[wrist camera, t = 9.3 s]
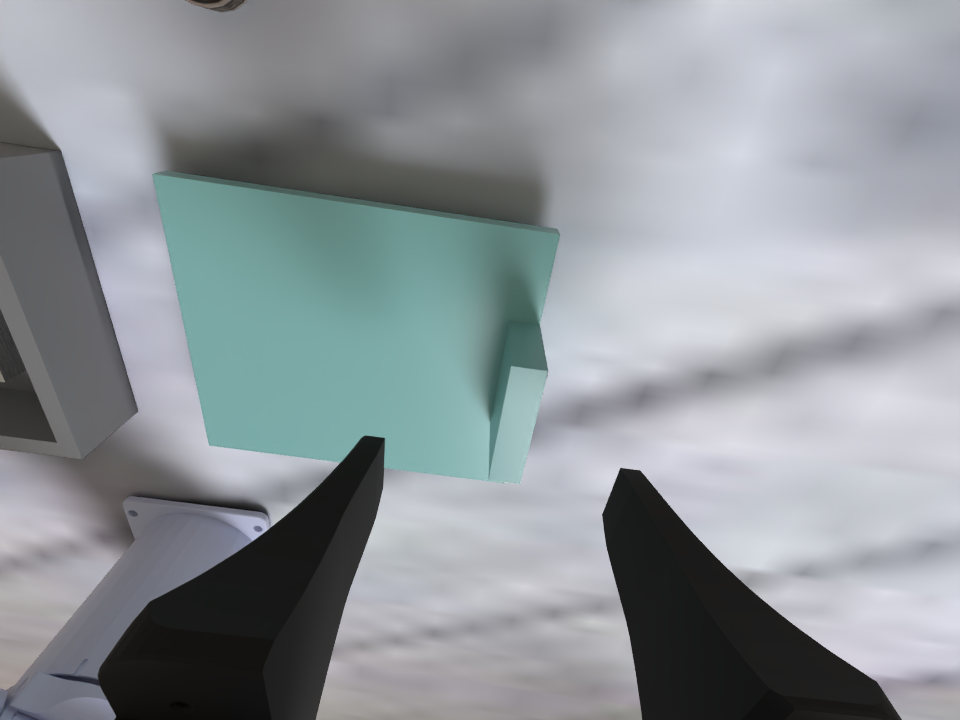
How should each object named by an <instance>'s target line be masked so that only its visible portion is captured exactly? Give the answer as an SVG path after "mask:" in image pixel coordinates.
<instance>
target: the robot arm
mask: <svg viewBox="0 0 960 720" xmlns="http://www.w3.org/2000/svg"><path fill="white" fill-rule="evenodd" d="M384 454H385V438H382V437H374V436H367V435H365V436H363V437H362V438H361V439H360V440H359V441H358V443H357V444H356V445H355V446H354V448H353V449H352V450H351V451H350V452H349V454H348V455H347V456H346V457H345V458H344V459H343V460H342V462H341V463H340V464H339V465H338V466H337V467H336V468H335V469H334V470H333V471H332V472H331V474H330V475H329V476H328V477H327V478H326V479H325V480H324V481H323V482H322V483H321V484H320V485H319V486H318V487H317V488H316V489H315V490H314V491H313V492H312V493H311V494H309V495H308V496H307V497H306V498H305V499H304V500H303V501H302V502H301V503H300V504H299V505H298V506H296V507H295V508H294V509H293V510H292V511H291V512H290V513H288V514H287V515H286V516H285V517H284V518H282V519H281V520H280V521H279V522H277V523H276V524H275V525H274V526H272V527H271V528H270V525H269V519H268V516H267V515H266V514H264V513H262V512H256V511H248V510H240V509H232V508H224V507H216V506H208V505H200V504H192V503H184V502H176V501H168V500H159V499H151V498H143V497H135V496H130V497H127V498H126V499H125V500H124V502H123V503H122V506H123V509H124V511H125V514H126V517H127V520H128V522H129V525H130V528H131V531H132V533H133V536H134V539H135V541H134V542H133V543H132V544H131V546H130V547H129V548H128V549H127V550H126V552H125V553H124V554H123V555H122V556H121V558H120V559H119V560H118V561H117V562H116V564H115V565H114V566H113V567H112V569H111V570H110V571H109V572H108V573H107V575H106V576H105V577H104V578H103V579H102V581H101V582H100V583H99V584H98V585H97V587H96V588H95V589H94V590H93V591H92V593H91V594H90V595H89V596H88V597H87V599H86V600H85V601H84V602H83V603H82V605H81V606H80V607H79V608H78V610H77V611H76V612H75V613H74V614H73V616H72V617H71V618H70V619H69V620H68V622H67V623H66V624H65V625H64V626H63V628H62V629H61V630H60V631H59V632H58V634H57V635H56V636H55V637H54V638H53V640H52V641H51V642H50V643H49V644H48V646H47V647H46V648H45V649H44V650H43V652H42V653H41V654H40V655H39V657H38V658H37V659H36V660H35V661H34V663H33V664H32V665H31V666H30V667H29V669H28V670H27V671H26V672H25V673H24V675H23V676H22V677H21V678H20V679H19V681H18V682H17V683H16V684H15V685H14V686H12V687H10V688H9V689H7V690H3V689H1V688H0V720H316V715H317V711H318V707H319V703H320V699H321V695H322V691H323V687H324V683H325V679H326V675H327V671H328V667H329V663H330V659H331V655H332V651H333V647H334V644H335V640H336V636H337V632H338V628H339V625H340V621H341V617H342V613H343V610H344V606H345V603H346V599H347V596H348V593H349V590H350V587H351V584H352V582H353V579H354V576H355V574H356V571H357V568H358V565H359V563H360V560H361V557H362V555H363V552H364V549H365V546H366V544H367V541H368V538H369V535H370V533H371V530H372V527H373V524H374V521H375V519H376V515H377V511H378V507H379V502H380V498H381V494H382V490H383V477H384ZM602 516H603V524H604V532H605V539H606V546H607V550H608V554H609V558H610V562H611V566H612V570H613V574H614V577H615V581H616V585H617V588H618V592H619V596H620V600H621V603H622V607H623V611H624V614H625V618H626V622H627V627H628V631H629V635H630V641H631V647H632V653H633V659H634V665H635V671H636V677H637V684H638V691H639V698H640V705H641V712H642V720H902V719H901V718H900V716H899V715H898V713H897V712H896V710H895V709H894V707H893V706H892V704H891V703H890V701H889V700H888V698H887V696H886V695H885V693H884V692H883V690H882V689H881V687H880V686H879V685H878V683H877V682H876V681H874V680H873V679H871V678H870V677H868V676H867V675H865V674H864V673H862V672H861V671H859V670H858V669H856V668H855V667H853V666H852V665H850V664H849V663H847V662H846V661H844V660H842V659H841V658H839V657H838V656H836V655H835V654H833V653H832V652H830V651H829V650H827V649H826V648H825V647H823V646H822V645H820V644H819V643H818V642H816V641H815V640H814V639H812V638H811V637H809V636H808V635H807V634H805V633H804V632H802V631H801V630H800V629H798V628H797V627H796V626H795V625H793V624H792V623H791V622H789V621H788V620H787V619H785V618H784V617H783V616H782V615H780V614H779V613H778V612H777V611H775V610H774V609H773V608H772V607H771V606H769V605H768V604H767V603H766V602H764V601H763V600H762V599H761V598H760V597H758V596H757V595H756V594H755V593H754V592H753V591H751V590H750V589H749V588H748V587H747V586H746V585H745V584H744V583H742V582H741V581H740V580H739V579H738V578H737V577H736V576H735V575H734V574H733V573H732V572H731V571H730V570H728V569H727V568H726V567H725V566H724V565H723V564H722V563H721V562H720V561H719V560H718V559H717V558H716V557H715V556H714V555H713V554H712V553H711V552H710V551H709V550H708V549H707V547H706V546H705V545H704V544H703V543H702V542H701V541H700V540H699V539H698V538H697V537H696V536H695V535H694V534H693V532H692V531H691V530H690V529H689V528H688V527H687V526H686V525H685V523H684V522H683V521H682V520H681V519H680V518H679V517H678V515H677V514H676V513H675V512H674V511H673V509H672V508H671V507H670V506H669V505H668V503H667V502H666V501H665V500H664V499H663V497H662V496H661V495H660V494H659V493H658V491H657V490H656V489H655V488H654V486H653V485H652V484H651V483H650V482H649V480H648V479H647V478H646V477H645V476H644V475H643V473H642V472H641V471H640V470H632V469H624V468H620V471H619V473H618V476H617V478H616V481H615V483H614V486H613V489H612V491H611V494H610V496H609V499H608V501H607V504H606V507H605V509H604V512H603V514H602Z"/></svg>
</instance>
